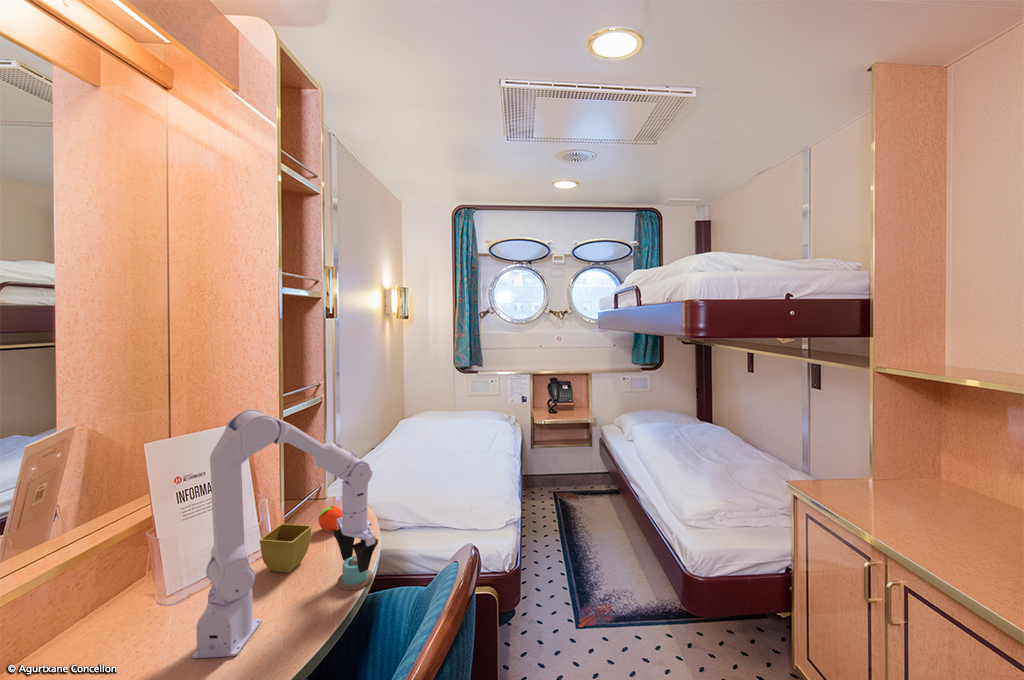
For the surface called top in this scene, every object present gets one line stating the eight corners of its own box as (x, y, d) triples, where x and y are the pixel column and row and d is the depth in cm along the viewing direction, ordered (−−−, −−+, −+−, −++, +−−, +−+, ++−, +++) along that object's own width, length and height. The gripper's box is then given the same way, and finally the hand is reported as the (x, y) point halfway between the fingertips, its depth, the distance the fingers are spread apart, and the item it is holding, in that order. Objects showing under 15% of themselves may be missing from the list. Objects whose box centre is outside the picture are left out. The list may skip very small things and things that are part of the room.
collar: (364, 584, 98) (363, 567, 98) (340, 585, 98) (340, 568, 98) (369, 570, 104) (369, 555, 104) (347, 571, 103) (347, 555, 103)
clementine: (325, 539, 120) (325, 514, 120) (310, 533, 124) (310, 509, 124) (348, 527, 127) (348, 504, 127) (333, 522, 131) (333, 499, 131)
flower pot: (313, 558, 110) (312, 525, 110) (292, 578, 102) (292, 541, 101) (281, 556, 111) (281, 523, 111) (258, 576, 103) (258, 539, 102)
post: (368, 590, 97) (367, 568, 97) (332, 591, 97) (332, 570, 97) (376, 570, 105) (376, 550, 105) (343, 571, 105) (343, 551, 104)
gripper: (386, 512, 99) (386, 568, 99) (355, 495, 108) (355, 547, 109) (359, 522, 93) (359, 582, 94) (328, 504, 103) (328, 558, 103)
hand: (355, 564), depth 101 cm, fingers open, 7 cm apart
